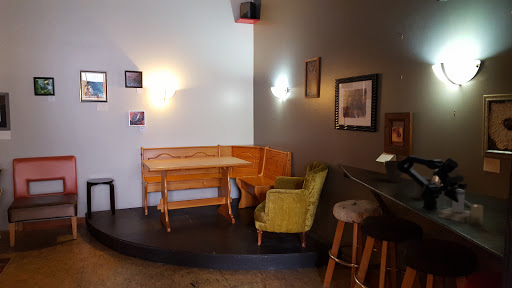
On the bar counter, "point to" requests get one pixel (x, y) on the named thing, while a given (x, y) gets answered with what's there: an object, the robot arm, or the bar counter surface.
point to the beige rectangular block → (476, 215)
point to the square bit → (458, 206)
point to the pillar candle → (420, 189)
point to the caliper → (467, 203)
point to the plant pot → (392, 171)
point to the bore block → (454, 215)
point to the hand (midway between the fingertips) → (460, 201)
